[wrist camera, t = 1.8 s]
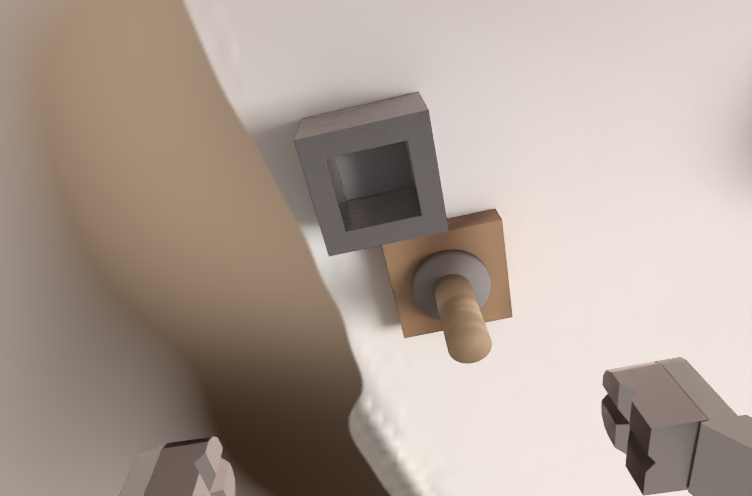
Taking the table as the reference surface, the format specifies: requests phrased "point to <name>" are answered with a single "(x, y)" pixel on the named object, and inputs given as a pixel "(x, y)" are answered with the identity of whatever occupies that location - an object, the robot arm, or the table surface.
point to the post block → (453, 283)
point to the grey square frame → (383, 211)
